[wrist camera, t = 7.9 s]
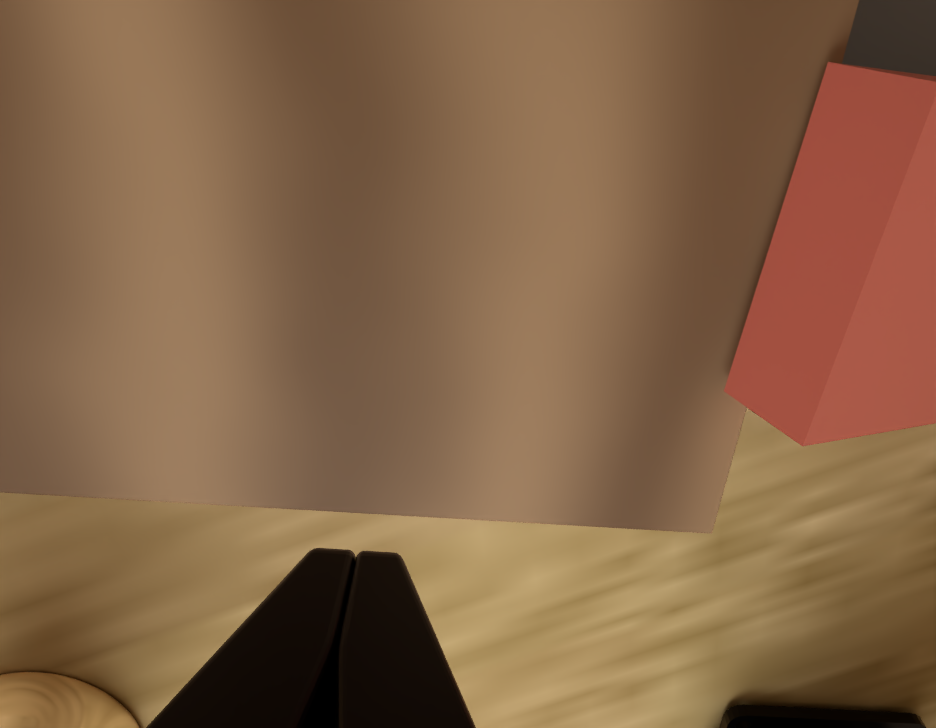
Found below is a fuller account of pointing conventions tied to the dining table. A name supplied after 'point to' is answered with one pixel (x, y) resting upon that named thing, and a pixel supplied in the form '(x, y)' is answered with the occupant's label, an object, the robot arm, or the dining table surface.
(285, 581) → the robot arm
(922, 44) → the mat
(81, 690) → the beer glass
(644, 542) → the dining table surface
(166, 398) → the deck
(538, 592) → the dining table surface
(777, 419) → the terracotta red slab
